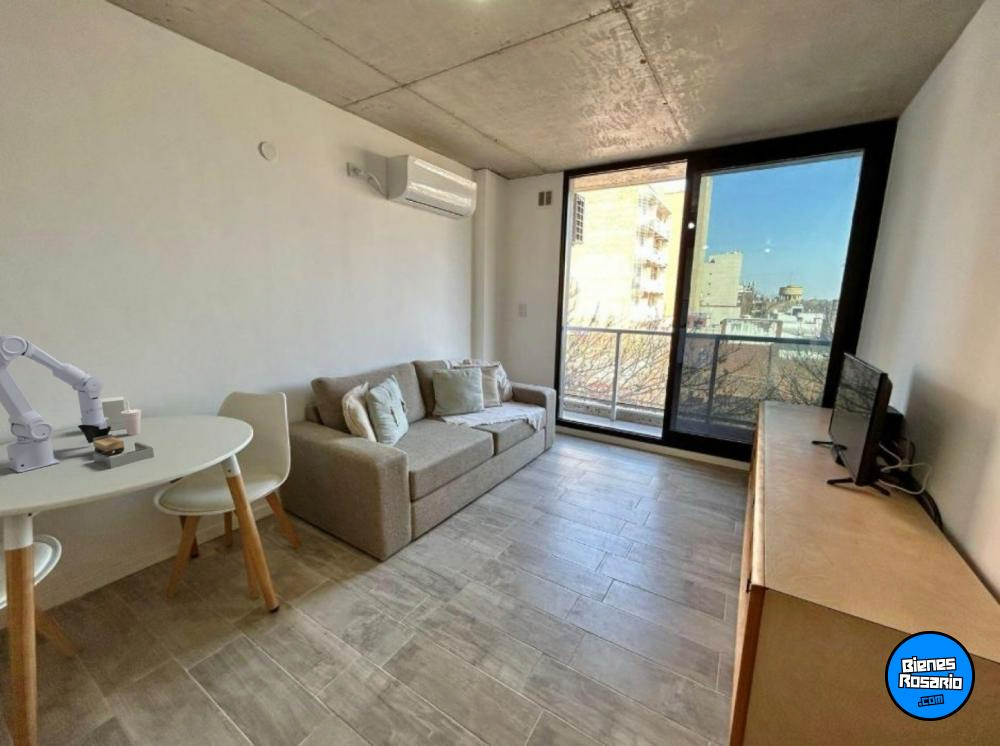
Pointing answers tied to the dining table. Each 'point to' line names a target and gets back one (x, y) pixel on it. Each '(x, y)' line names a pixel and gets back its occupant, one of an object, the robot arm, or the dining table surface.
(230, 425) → the dining table surface
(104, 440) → the trolley
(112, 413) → the supplement box
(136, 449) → the dock
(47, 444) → the robot arm
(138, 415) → the smoothie
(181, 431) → the dining table surface
